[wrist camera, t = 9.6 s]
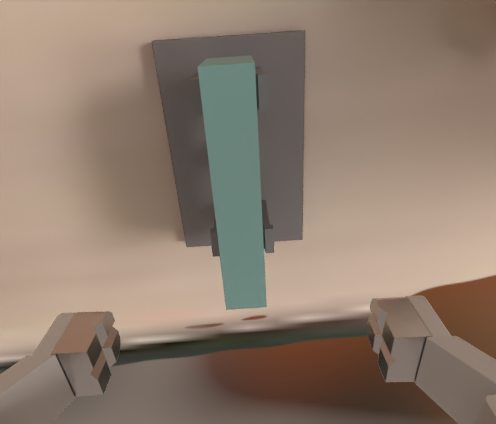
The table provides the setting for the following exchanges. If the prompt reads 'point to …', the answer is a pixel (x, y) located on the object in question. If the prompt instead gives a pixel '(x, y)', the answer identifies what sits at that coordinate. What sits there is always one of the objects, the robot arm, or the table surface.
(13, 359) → the table surface
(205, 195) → the display stand
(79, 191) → the table surface
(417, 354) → the robot arm
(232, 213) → the frame bar
